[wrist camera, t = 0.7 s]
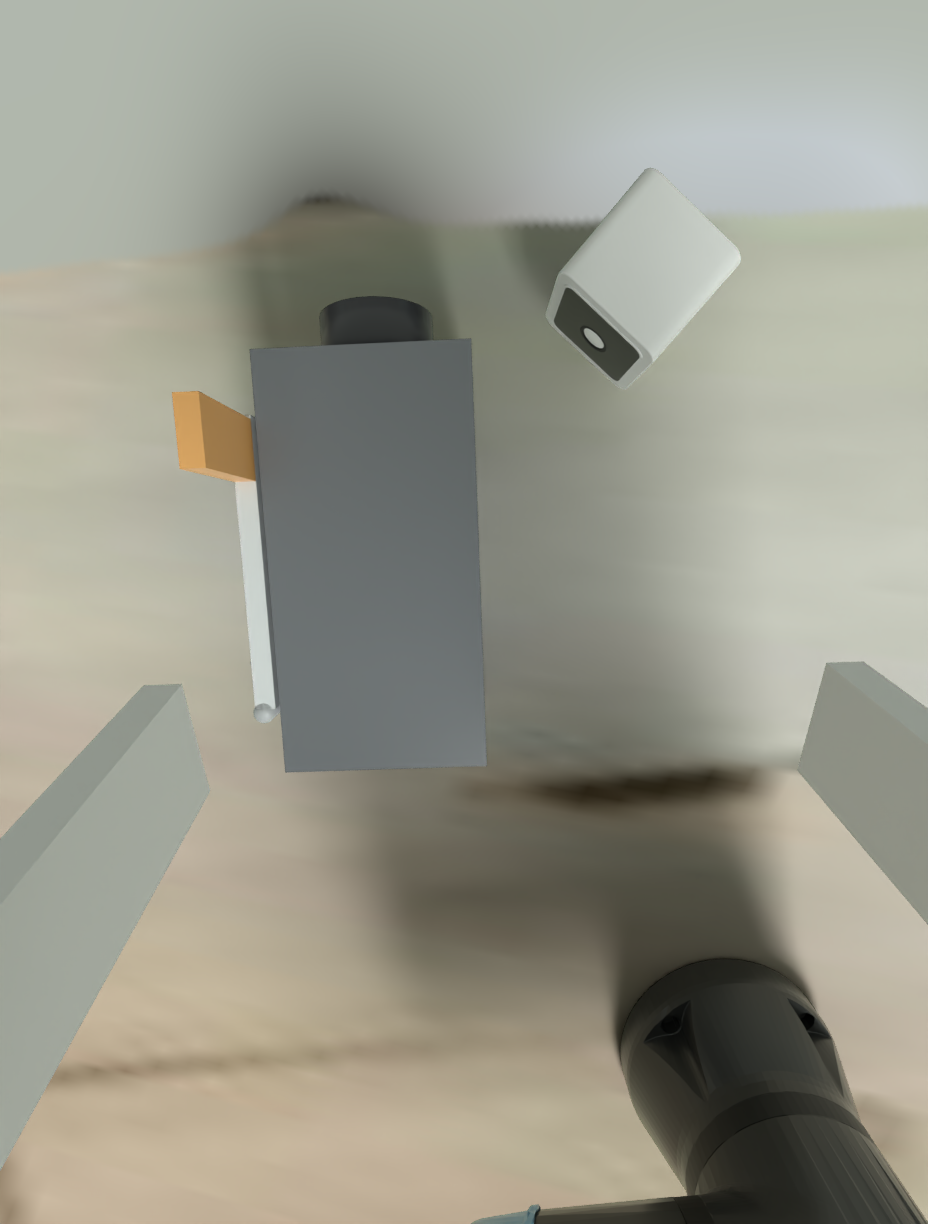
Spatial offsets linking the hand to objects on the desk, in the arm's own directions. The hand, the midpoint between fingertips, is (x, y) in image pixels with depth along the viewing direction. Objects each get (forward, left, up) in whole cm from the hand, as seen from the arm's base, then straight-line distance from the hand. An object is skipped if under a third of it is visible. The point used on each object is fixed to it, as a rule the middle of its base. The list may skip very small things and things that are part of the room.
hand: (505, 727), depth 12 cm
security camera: (+17, -9, -27) cm, 33 cm away
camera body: (+4, +5, -27) cm, 28 cm away
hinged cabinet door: (+3, +11, -27) cm, 29 cm away
